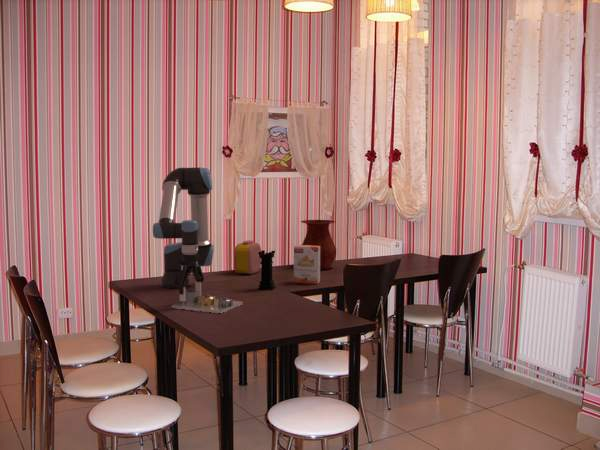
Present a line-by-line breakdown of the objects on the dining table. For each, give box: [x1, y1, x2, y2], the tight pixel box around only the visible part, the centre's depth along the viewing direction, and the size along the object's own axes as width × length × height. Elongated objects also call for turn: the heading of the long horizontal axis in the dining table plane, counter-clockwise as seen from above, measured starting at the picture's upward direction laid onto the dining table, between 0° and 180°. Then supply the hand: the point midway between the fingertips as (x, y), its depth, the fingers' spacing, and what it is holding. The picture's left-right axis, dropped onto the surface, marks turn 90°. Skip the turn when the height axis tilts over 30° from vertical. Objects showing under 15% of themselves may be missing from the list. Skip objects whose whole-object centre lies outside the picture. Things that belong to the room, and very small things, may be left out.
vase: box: [300, 219, 337, 271], centre depth 413 cm, size 23×24×30 cm
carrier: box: [171, 294, 243, 314], centre depth 304 cm, size 26×20×6 cm
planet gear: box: [181, 289, 200, 304], centre depth 308 cm, size 8×8×5 cm
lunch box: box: [233, 240, 262, 275], centre depth 395 cm, size 18×11×19 cm, turn 162°
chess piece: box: [257, 249, 277, 291], centre depth 347 cm, size 8×8×20 cm
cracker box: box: [293, 244, 321, 285], centre depth 363 cm, size 14×6×21 cm, turn 77°
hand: (190, 298), depth 308 cm, fingers open, 13 cm apart
